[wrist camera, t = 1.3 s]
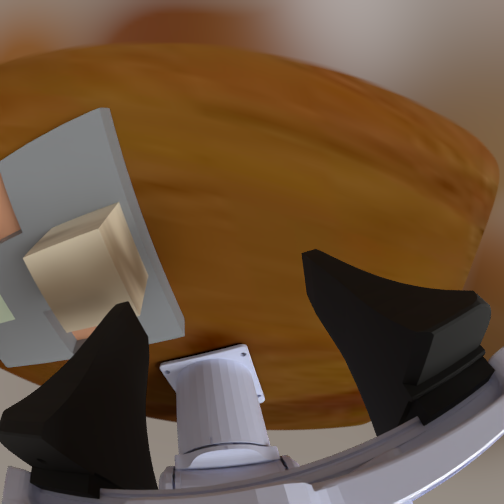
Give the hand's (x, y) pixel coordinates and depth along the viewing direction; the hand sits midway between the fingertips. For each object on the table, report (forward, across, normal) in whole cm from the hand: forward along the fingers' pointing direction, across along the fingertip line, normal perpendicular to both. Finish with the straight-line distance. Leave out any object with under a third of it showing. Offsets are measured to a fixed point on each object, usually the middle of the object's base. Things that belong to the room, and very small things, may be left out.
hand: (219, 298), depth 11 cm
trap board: (+8, +14, -1) cm, 16 cm away
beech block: (+6, +7, -1) cm, 10 cm away
